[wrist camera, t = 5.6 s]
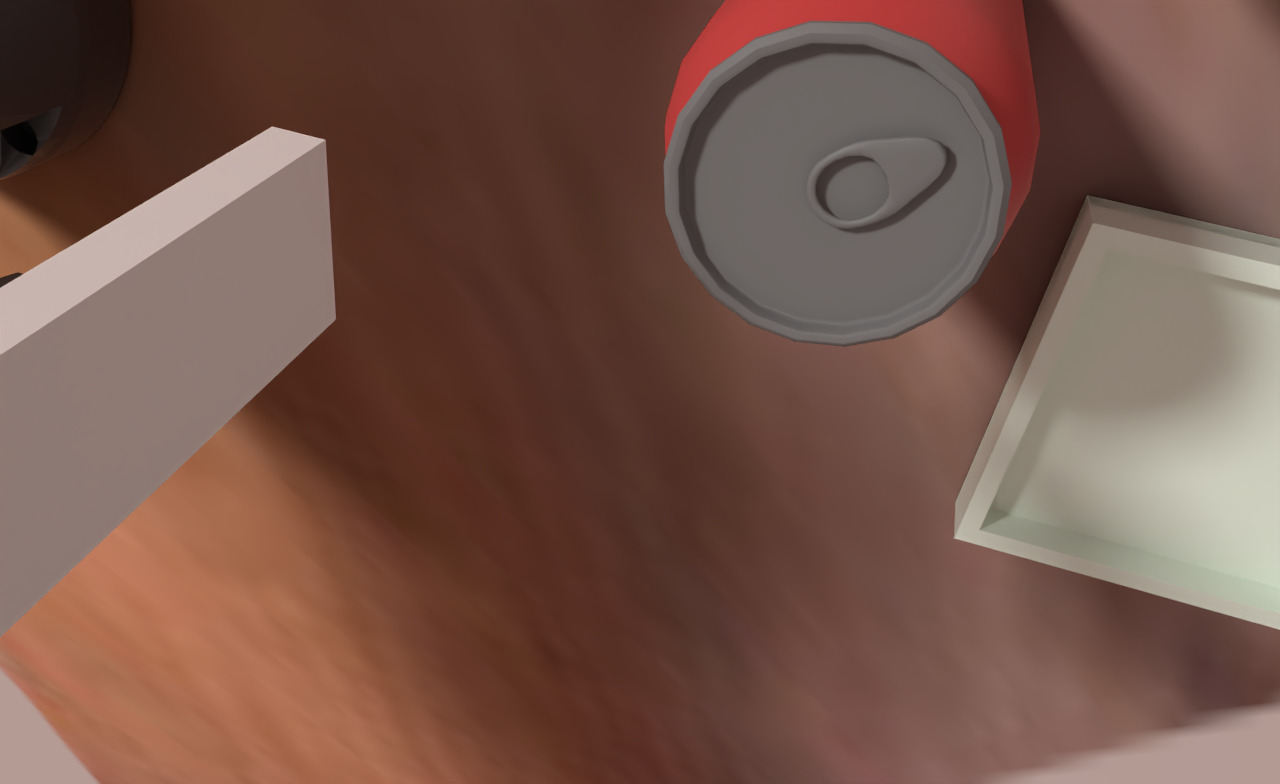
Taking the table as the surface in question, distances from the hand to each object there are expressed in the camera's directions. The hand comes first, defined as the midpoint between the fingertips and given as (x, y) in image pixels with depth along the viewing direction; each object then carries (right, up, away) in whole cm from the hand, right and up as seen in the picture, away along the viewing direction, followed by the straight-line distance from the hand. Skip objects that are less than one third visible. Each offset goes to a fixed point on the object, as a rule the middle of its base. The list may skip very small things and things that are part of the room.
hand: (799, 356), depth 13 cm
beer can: (+4, +9, +13) cm, 17 cm away
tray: (+14, -1, +17) cm, 22 cm away
